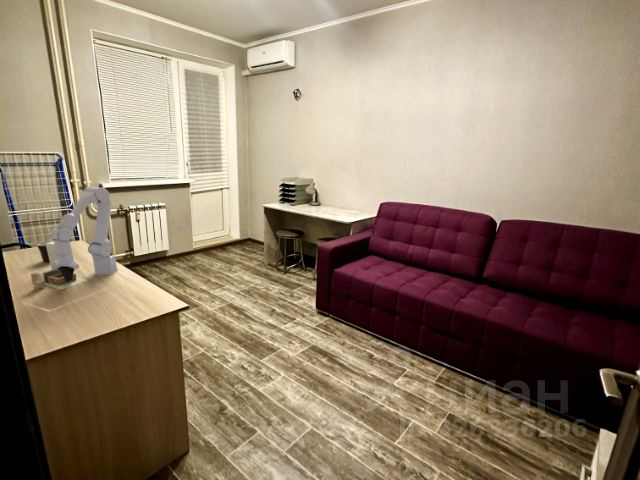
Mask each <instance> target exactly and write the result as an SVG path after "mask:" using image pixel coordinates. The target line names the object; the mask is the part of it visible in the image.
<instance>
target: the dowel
mask: <svg viewBox="0 0 640 480" xmlns="http://www.w3.org/2000/svg"><path fill="white" fill-rule="evenodd" d="M42 273H43V271H35V272H32V273H30V276H31V277H30V278H31V283H32V286H33V287H32V288H33V290H34V291H42V290H44V289H46V285H45V283H44V279H43V274H42Z"/></svg>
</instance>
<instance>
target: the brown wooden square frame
mask: <svg viewBox="0 0 640 480" xmlns="http://www.w3.org/2000/svg"><path fill="white" fill-rule="evenodd" d="M76 277H77V274H76V273H73V279H72V280H71V281H74V280H77V279H76ZM47 280H48V283H51V284H55V285H58V286H60V285H62V284H65V283H68V282H71V281H66V280H65V278H64V276H63V274H62V273H61V272H60V273H57V274H54V275H51V276H47Z"/></svg>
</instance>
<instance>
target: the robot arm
mask: <svg viewBox="0 0 640 480" xmlns="http://www.w3.org/2000/svg"><path fill="white" fill-rule="evenodd" d="M110 195H111V193H110V192H109V191H108V190H107V189H106V188H105V187H96V186H91V185H90V186H86V187H84V189H83V190H82V191H81V192H80V198H78V201H77V202H76V204H75V206H73V207H74V208H73V209H72V210H71V212H69V213H66V214H64V215H63V216H62V219H61V221H60V222H59V223H58V224H57V225H56V227H55V228H53V229H52V230H50V234H49V238H50V239H51V240H52V241H54V244H55V249H56V254H57V260H54V264H55V265H56V266H58V267H59V266H61V267H59V268H58V270H59V271H60V272H61V273H62V274H63V276H64V278H65V280H66V281H71V280H72V279H73V273H74V272H75V270H77V269H80V264H79V263H77V262H76V261H75V260H74V261H73V258H74V255H73V256H72V254H73V250H72V251H71V249H72V245H71V239H72V237H73V231H74V229H75V228H76V226H77V225H78V223H79V222H80V216H81V215H82V213H83V212H85V210H86V208H88V206H89V205H90V204H94V205H96V206H97V212H96V213H97V214H96V219H95V221H96V222H95V230H94V237H93V238H92V239H90V243H89V245H88V247H87V252H88V253H89V254H90V255H91V257H92V262H93V268H94V272H93V273H91V275H93V276H94V275H112V274H113V273H114V272H117V271H118V266H117V265H118V264H117V260H116V257H115V256H114V255H111V254H112V250H113V249H112V245H111V244H112V243H111V241H110V239H108V237H109V236H108V235H109V227H110V226H109V225H110V219H111V211H112V210H111V209H112V202H111V200H110ZM74 274H75V273H74Z"/></svg>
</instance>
